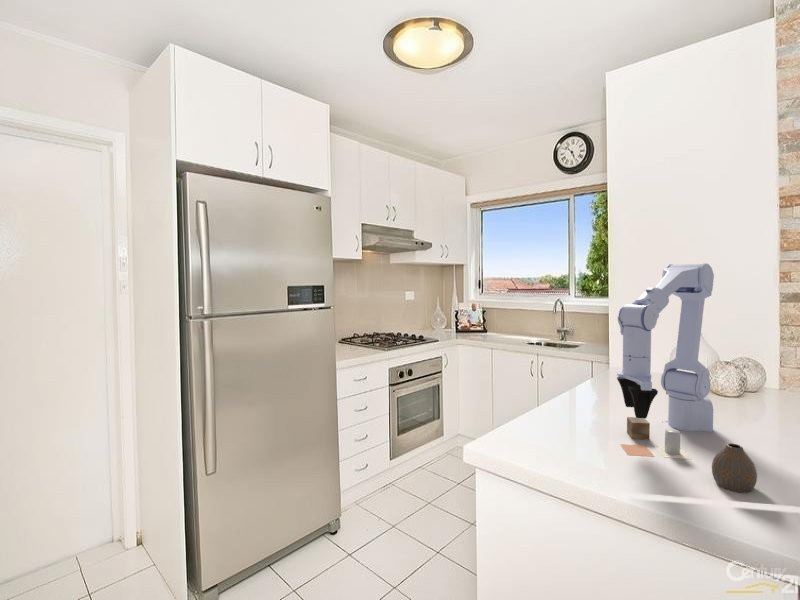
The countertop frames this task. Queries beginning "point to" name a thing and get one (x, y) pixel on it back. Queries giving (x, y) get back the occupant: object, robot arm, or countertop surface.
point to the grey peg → (672, 441)
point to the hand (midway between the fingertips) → (635, 412)
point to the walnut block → (638, 428)
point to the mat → (644, 451)
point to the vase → (734, 469)
